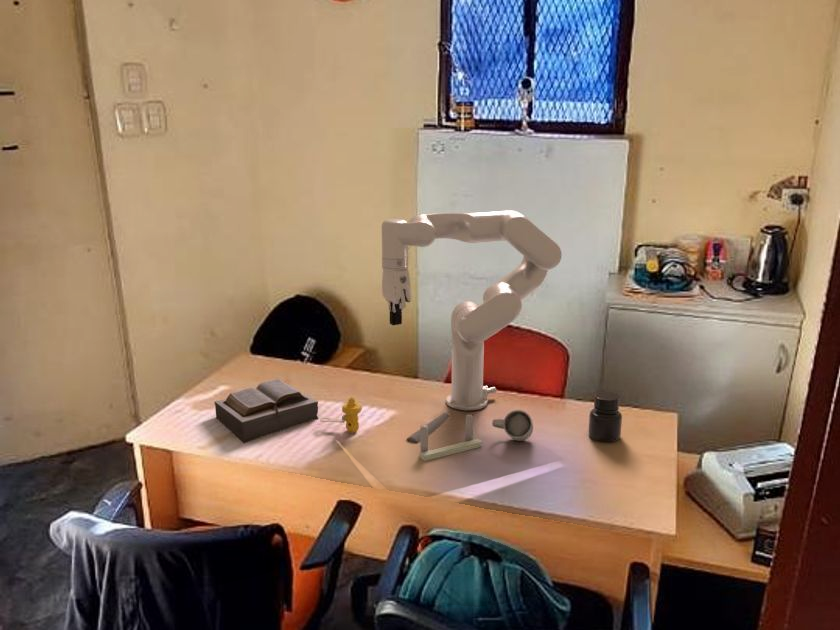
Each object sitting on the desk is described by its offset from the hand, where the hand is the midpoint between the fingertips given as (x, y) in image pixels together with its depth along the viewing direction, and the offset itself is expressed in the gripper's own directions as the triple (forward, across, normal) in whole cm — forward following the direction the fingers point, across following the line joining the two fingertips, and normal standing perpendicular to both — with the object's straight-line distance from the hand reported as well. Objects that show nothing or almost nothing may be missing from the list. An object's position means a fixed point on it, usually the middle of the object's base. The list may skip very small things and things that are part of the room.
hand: (395, 323), depth 230 cm
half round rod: (+28, -17, -2) cm, 33 cm away
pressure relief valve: (+27, -6, +21) cm, 35 cm away
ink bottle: (+27, -44, -43) cm, 67 cm away
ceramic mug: (+27, -35, -18) cm, 48 cm away
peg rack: (+27, -30, 0) cm, 40 cm away
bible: (+28, +11, +37) cm, 47 cm away
